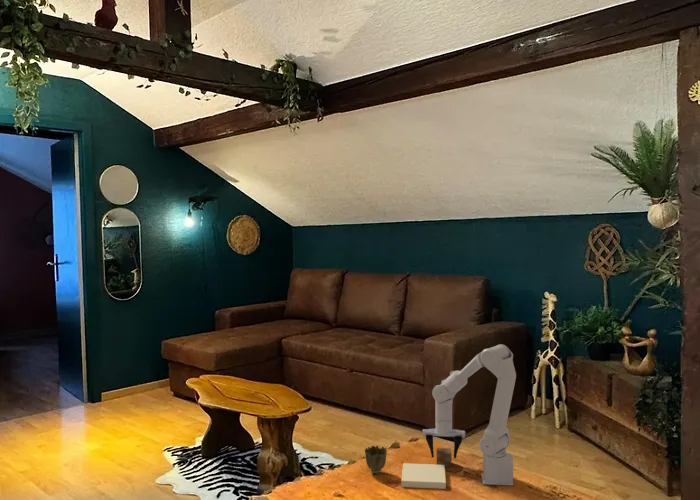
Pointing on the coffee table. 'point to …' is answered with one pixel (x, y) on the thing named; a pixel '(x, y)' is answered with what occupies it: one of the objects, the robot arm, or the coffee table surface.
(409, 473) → the base board
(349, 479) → the coffee table surface
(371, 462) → the cup
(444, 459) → the walnut block
